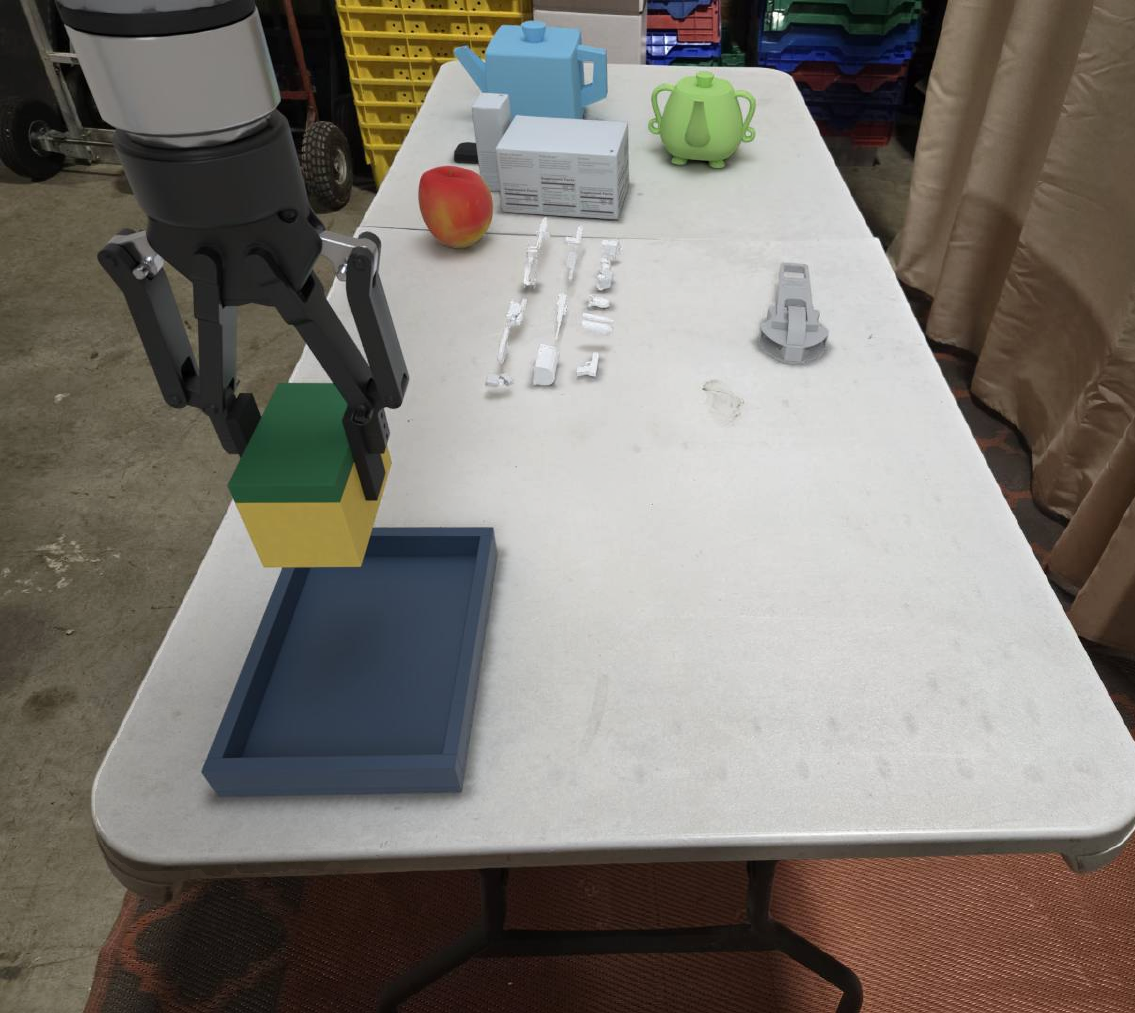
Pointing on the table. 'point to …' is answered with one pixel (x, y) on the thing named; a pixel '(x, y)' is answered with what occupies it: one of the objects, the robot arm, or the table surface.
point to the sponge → (304, 482)
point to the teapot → (702, 119)
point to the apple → (455, 205)
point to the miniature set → (547, 353)
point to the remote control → (466, 153)
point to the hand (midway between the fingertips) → (323, 486)
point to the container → (539, 70)
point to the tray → (363, 672)
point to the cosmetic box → (490, 132)
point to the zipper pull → (793, 320)
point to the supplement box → (563, 167)
